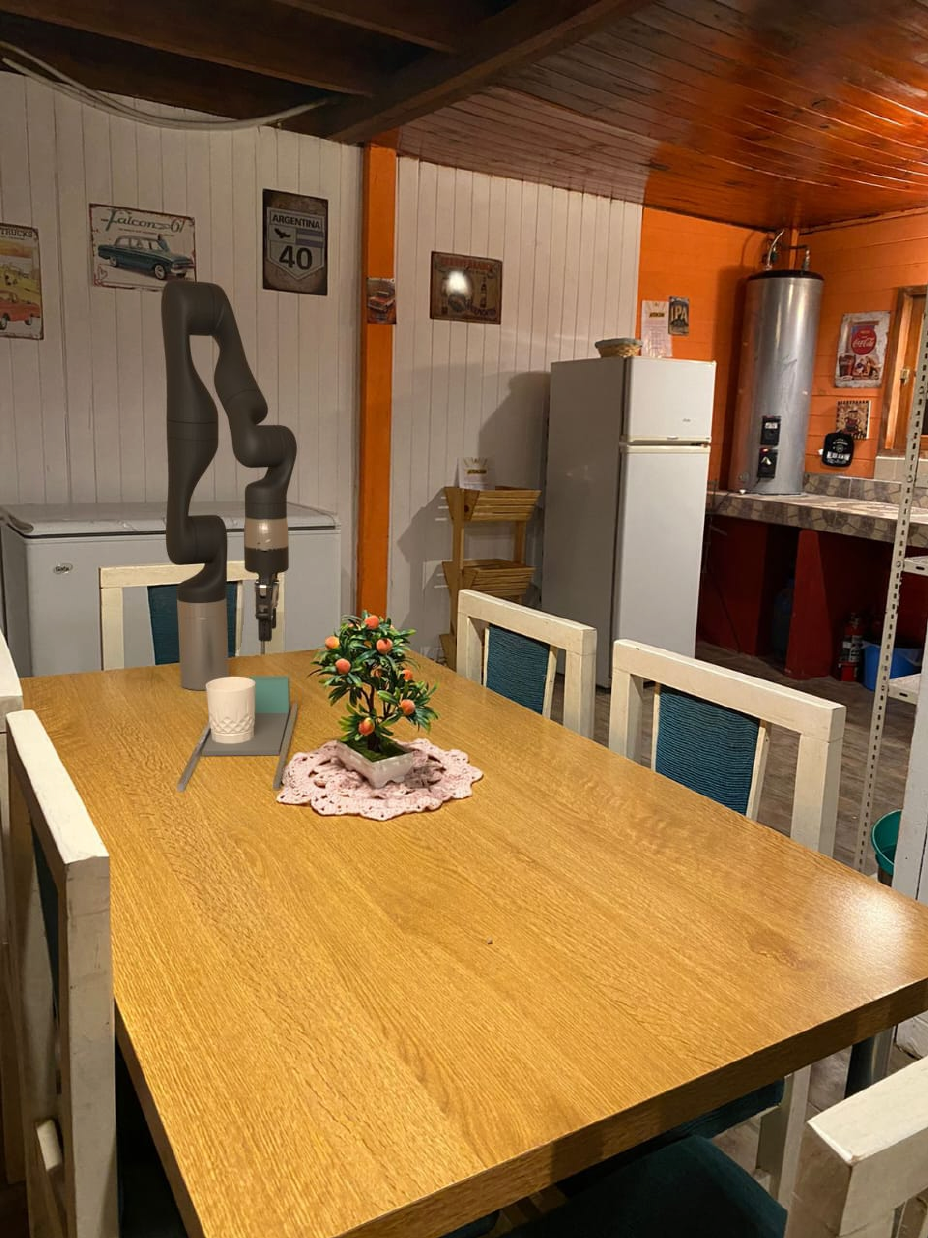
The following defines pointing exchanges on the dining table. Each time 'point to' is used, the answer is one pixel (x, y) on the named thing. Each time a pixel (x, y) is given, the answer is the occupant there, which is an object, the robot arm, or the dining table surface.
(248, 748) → the grey tray
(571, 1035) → the dining table surface
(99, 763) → the dining table surface
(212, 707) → the white cup
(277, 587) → the robot arm
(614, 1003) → the dining table surface
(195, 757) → the rails
